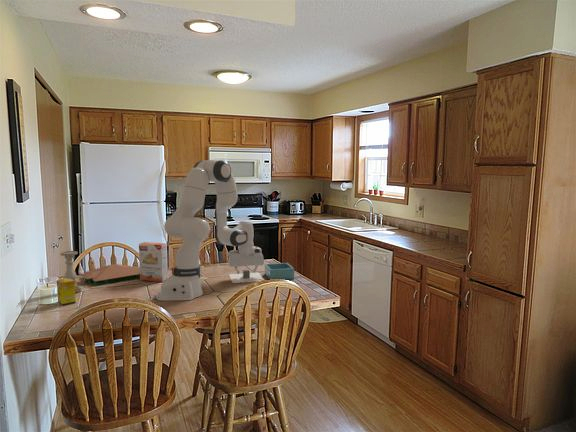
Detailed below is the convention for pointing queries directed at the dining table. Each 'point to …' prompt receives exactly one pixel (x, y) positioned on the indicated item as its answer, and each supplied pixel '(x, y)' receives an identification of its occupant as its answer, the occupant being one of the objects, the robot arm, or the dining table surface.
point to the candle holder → (70, 267)
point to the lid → (245, 277)
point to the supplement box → (66, 291)
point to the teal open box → (279, 271)
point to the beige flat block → (111, 273)
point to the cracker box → (153, 261)
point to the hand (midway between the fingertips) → (246, 273)
